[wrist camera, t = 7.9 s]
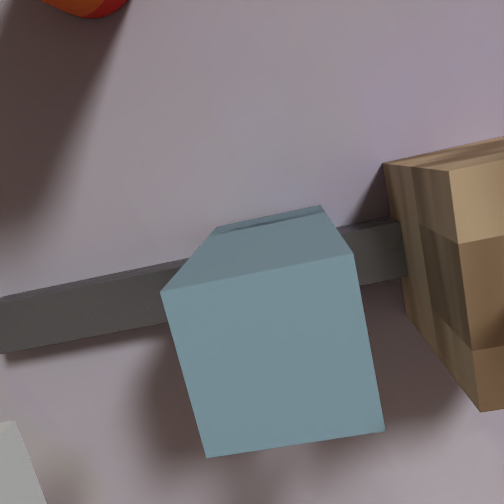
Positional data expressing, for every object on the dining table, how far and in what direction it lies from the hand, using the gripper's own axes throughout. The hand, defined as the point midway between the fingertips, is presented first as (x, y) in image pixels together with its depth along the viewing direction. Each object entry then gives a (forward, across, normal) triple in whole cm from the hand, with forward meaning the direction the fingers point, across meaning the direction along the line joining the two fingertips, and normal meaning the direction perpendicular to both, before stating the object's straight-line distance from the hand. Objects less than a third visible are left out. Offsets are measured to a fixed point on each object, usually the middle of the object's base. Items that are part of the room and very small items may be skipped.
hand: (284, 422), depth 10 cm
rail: (+16, -5, 0) cm, 17 cm away
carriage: (+16, 0, 0) cm, 16 cm away
